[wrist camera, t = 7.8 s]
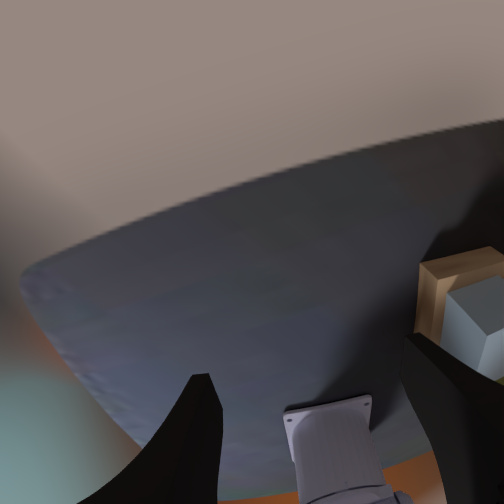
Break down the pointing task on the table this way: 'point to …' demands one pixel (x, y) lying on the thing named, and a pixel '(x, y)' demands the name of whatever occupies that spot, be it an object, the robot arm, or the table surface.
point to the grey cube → (476, 326)
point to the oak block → (450, 284)
